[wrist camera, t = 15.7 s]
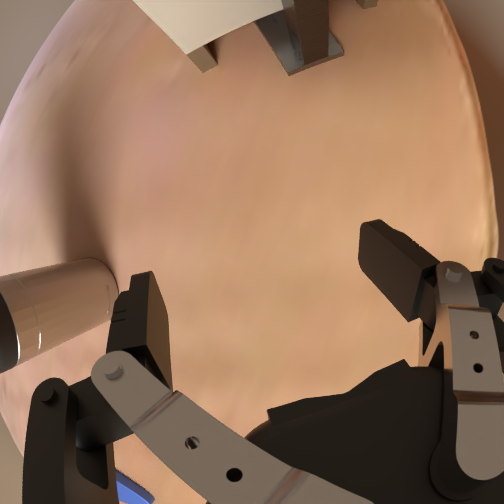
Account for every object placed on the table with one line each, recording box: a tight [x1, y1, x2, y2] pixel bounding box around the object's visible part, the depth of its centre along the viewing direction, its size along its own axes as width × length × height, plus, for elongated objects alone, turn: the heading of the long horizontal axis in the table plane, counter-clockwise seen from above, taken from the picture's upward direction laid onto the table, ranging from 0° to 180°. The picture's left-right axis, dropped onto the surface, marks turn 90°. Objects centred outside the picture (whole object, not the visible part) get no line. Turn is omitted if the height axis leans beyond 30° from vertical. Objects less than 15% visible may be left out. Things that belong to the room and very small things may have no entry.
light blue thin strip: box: [115, 470, 155, 504], centre depth 44 cm, size 13×3×25 cm
